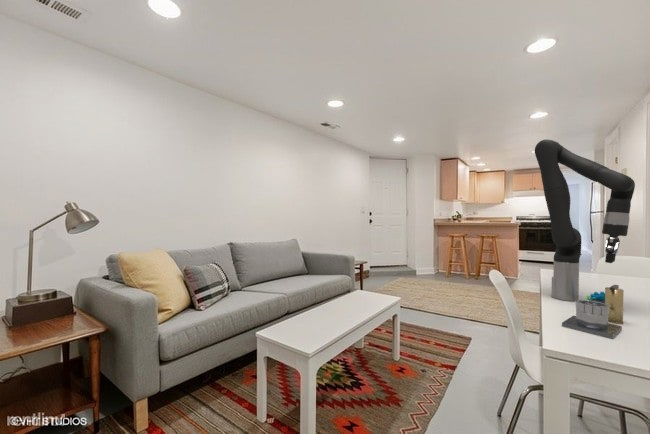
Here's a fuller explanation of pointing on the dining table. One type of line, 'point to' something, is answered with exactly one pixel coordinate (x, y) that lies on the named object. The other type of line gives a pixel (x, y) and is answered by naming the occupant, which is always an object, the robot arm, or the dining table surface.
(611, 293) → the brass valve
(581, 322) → the pipe socket
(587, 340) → the dining table surface
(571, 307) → the dining table surface
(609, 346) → the dining table surface
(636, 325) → the dining table surface
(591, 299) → the gear
